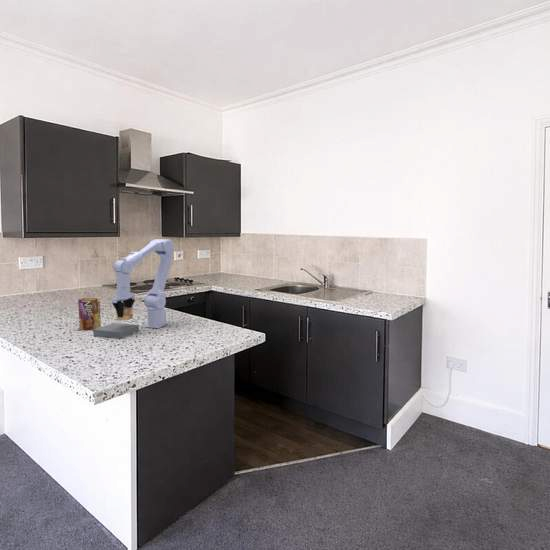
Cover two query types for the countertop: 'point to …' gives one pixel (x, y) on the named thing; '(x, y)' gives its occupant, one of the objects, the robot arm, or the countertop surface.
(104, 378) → the countertop surface
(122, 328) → the base block
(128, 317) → the tan cube
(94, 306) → the candy box
